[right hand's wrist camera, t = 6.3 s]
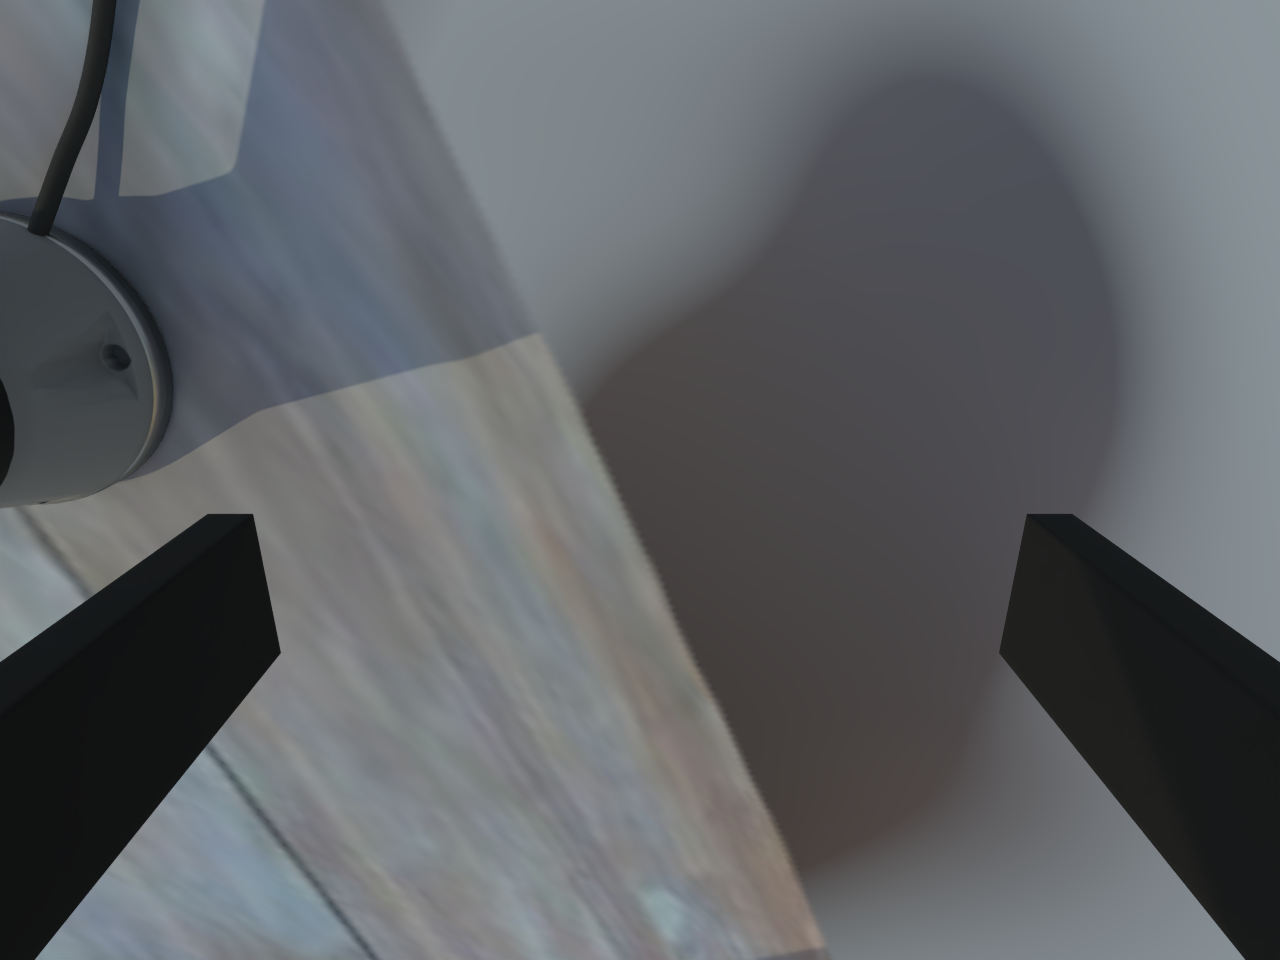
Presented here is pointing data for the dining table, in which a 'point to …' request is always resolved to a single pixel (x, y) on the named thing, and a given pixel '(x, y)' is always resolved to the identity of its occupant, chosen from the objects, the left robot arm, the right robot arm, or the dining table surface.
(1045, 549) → the right robot arm
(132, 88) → the dining table surface
